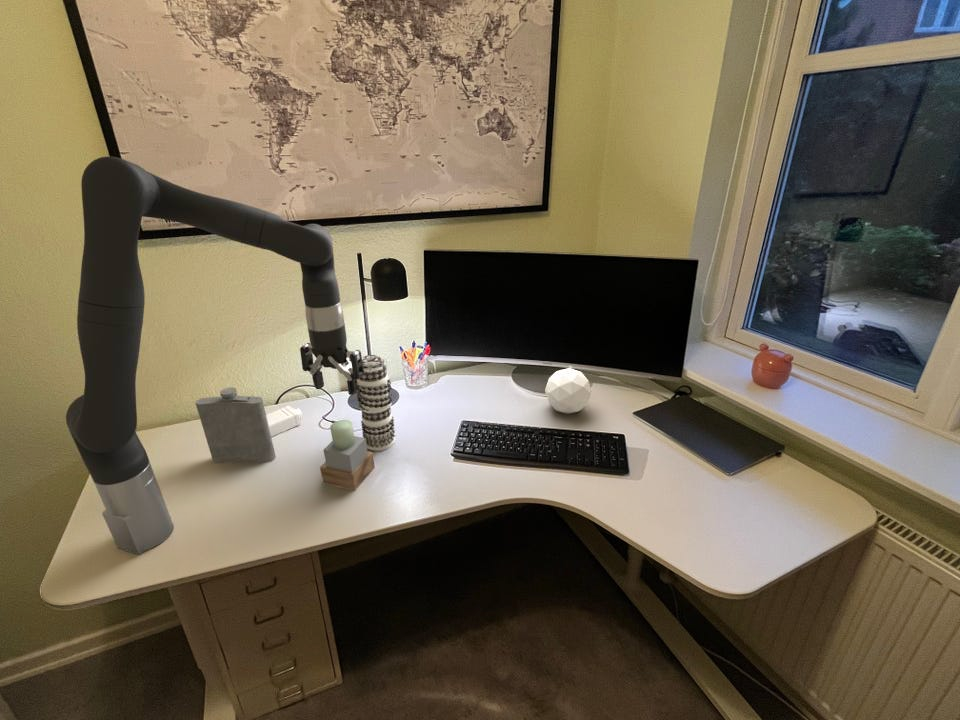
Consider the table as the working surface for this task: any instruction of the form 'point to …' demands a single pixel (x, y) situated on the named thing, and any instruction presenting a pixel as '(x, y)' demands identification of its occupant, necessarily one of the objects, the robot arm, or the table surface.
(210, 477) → the table surface
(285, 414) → the white bottle
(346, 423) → the rounded mint cylinder
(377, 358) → the decorative candle
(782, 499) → the table surface
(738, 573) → the table surface
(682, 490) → the table surface
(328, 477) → the base block
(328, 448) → the gray block
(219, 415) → the hip flask
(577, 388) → the geodesic sphere
